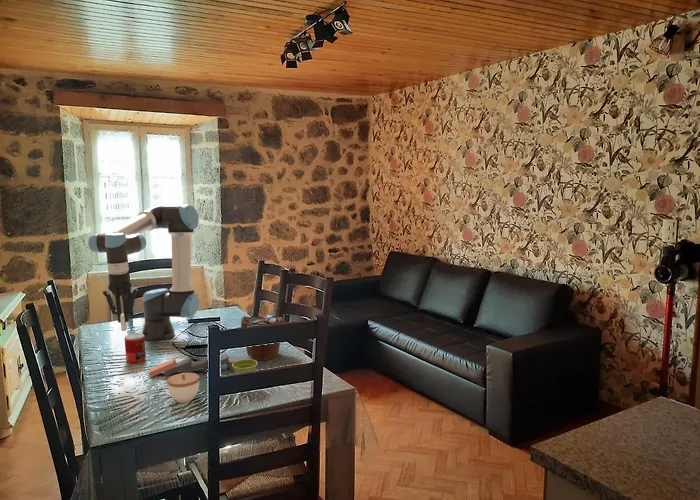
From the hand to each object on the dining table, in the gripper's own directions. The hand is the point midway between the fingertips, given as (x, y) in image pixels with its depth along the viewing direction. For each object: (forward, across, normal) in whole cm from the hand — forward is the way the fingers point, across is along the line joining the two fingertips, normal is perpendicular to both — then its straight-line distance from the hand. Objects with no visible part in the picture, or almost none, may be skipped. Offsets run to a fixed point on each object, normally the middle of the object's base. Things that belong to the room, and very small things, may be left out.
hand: (124, 329), depth 212 cm
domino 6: (+15, +40, -6) cm, 43 cm away
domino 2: (+16, +16, -7) cm, 24 cm away
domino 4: (+17, +31, -7) cm, 36 cm away
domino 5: (+17, +41, -6) cm, 45 cm away
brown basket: (+18, +55, +6) cm, 58 cm away
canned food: (+18, +1, +11) cm, 21 cm away
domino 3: (+16, +22, -7) cm, 28 cm away
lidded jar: (+17, +26, -33) cm, 45 cm away
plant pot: (+17, +47, -26) cm, 56 cm away
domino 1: (+16, +10, -7) cm, 20 cm away
